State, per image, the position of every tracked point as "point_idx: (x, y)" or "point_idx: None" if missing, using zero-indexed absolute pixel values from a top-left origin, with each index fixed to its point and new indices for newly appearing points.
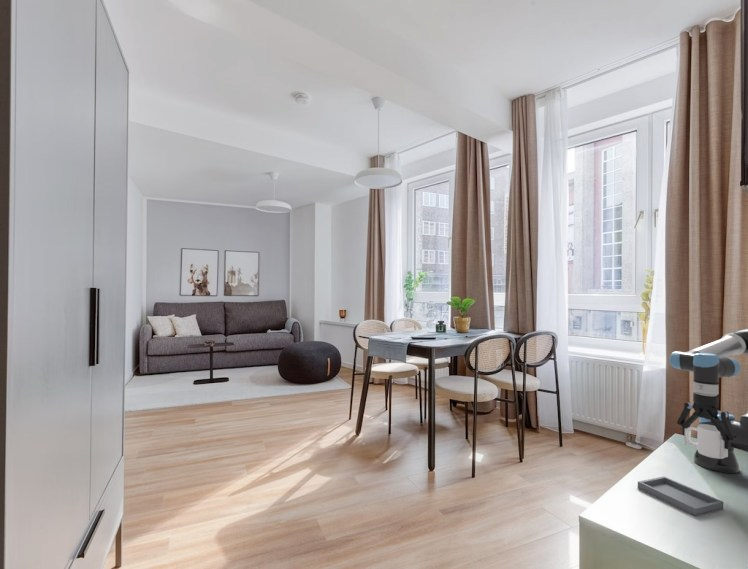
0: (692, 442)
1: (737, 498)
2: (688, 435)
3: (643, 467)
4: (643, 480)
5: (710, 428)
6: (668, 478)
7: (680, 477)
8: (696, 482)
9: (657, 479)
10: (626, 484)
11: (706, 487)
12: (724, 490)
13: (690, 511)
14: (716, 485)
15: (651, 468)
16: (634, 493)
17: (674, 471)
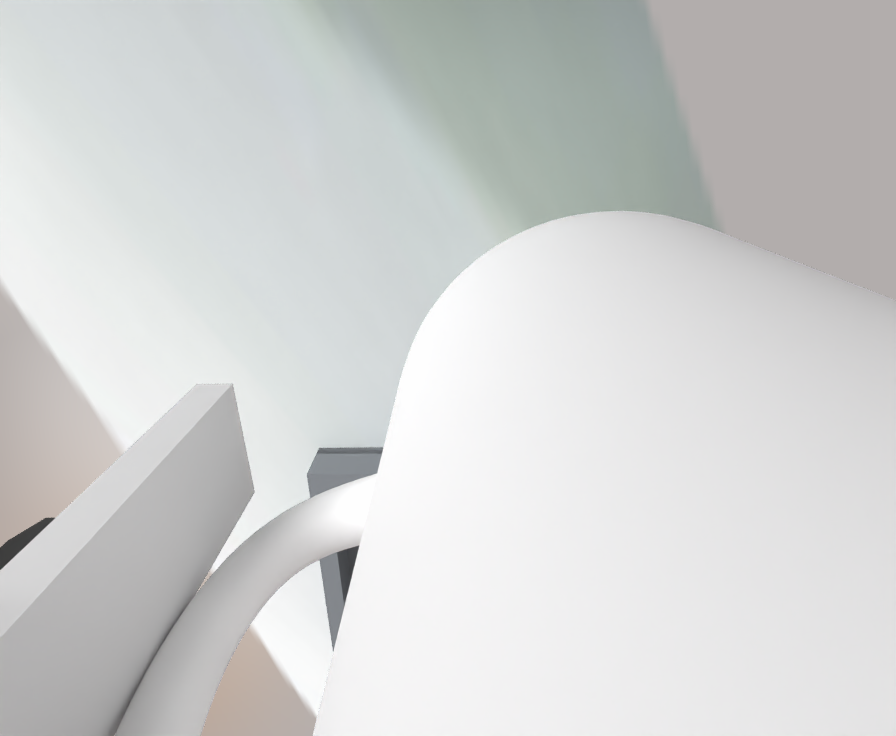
0: (330, 553)
1: (669, 160)
2: (219, 675)
3: (60, 345)
4: (332, 645)
5: (600, 619)
6: (343, 479)
7: (264, 226)
8: (368, 187)
9: (337, 557)
10: (295, 660)
11: (458, 205)
12: (546, 98)
13: None
14: (459, 53)
15: (79, 297)
16: None
17: (147, 144)
